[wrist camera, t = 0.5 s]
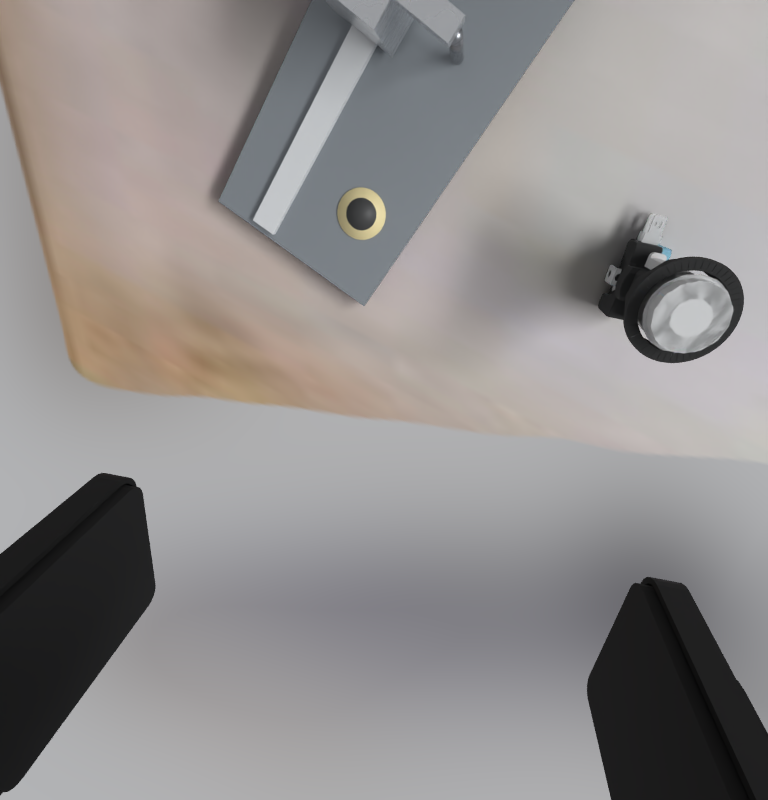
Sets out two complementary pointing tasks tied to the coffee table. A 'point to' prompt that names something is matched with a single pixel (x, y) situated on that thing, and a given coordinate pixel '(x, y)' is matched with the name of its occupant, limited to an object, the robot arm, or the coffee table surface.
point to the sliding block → (404, 21)
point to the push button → (671, 299)
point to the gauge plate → (375, 133)
